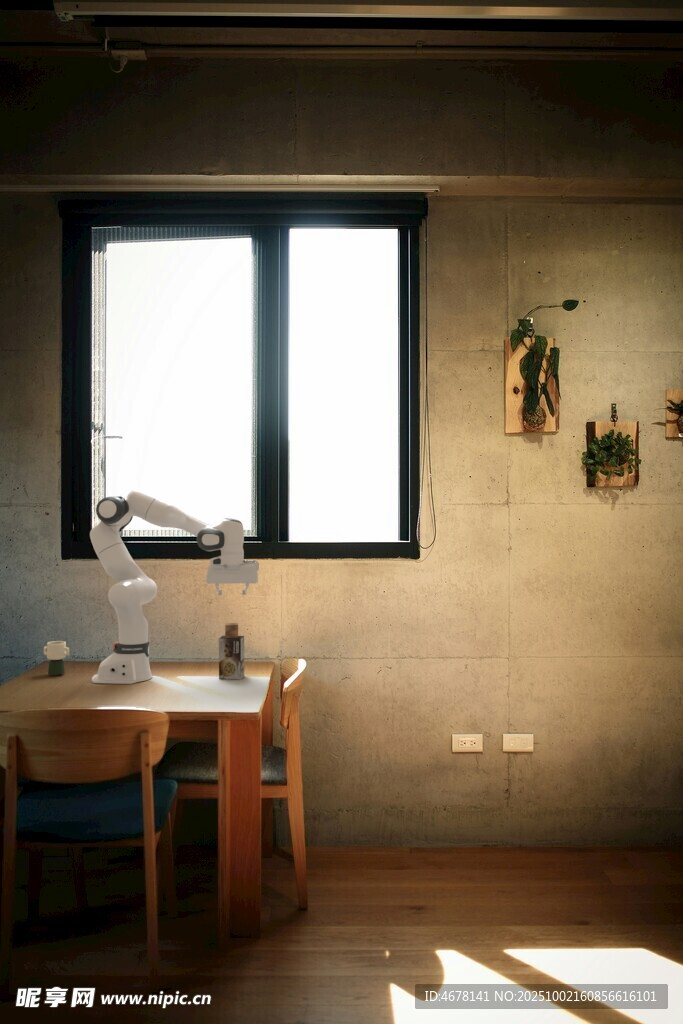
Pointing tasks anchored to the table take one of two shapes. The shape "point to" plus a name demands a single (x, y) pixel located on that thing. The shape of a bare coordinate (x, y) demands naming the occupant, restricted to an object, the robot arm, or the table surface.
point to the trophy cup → (56, 656)
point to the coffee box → (231, 657)
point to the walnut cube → (231, 630)
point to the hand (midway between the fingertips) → (232, 594)
